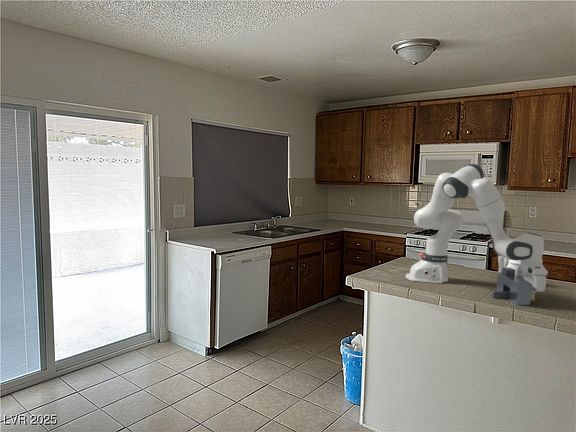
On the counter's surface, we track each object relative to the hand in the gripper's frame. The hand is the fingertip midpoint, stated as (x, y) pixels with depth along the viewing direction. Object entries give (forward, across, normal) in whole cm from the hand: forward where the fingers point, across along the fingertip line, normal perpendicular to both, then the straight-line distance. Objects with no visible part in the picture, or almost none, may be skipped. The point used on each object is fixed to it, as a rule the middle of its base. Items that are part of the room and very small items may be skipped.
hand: (528, 295), depth 194 cm
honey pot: (+2, -31, +9) cm, 32 cm away
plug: (+2, 0, -7) cm, 7 cm away
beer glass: (+2, -49, +10) cm, 50 cm away
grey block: (+2, 0, -7) cm, 7 cm away
